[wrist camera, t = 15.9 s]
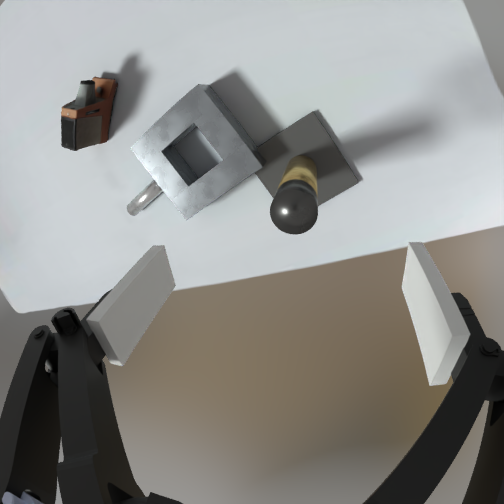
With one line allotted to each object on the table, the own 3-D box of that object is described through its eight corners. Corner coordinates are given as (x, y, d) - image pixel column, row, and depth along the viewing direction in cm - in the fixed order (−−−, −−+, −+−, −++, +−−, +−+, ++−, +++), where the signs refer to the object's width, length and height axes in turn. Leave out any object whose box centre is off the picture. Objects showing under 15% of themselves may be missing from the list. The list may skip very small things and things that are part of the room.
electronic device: (121, 79, 33) (85, 81, 26) (109, 142, 38) (75, 155, 31) (98, 76, 33) (62, 78, 26) (88, 136, 38) (54, 148, 31)
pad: (312, 111, 31) (312, 111, 30) (357, 181, 34) (358, 182, 33) (244, 156, 35) (243, 157, 35) (290, 220, 38) (290, 221, 38)
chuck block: (208, 85, 31) (198, 84, 28) (267, 160, 35) (262, 167, 32) (112, 177, 40) (98, 184, 37) (160, 237, 44) (149, 248, 41)
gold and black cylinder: (285, 155, 34) (267, 190, 22) (315, 154, 33) (316, 189, 21) (287, 184, 35) (272, 234, 23) (317, 183, 35) (318, 234, 23)
